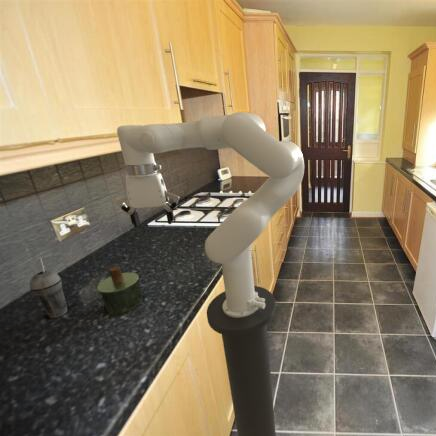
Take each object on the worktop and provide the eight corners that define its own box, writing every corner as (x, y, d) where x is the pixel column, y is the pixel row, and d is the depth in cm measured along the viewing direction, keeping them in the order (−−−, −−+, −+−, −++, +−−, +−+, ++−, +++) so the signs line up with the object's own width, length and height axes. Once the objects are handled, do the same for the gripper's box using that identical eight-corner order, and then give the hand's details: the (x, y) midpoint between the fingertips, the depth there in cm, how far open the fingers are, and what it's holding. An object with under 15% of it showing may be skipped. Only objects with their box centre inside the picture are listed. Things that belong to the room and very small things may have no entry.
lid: (147, 277, 92) (143, 262, 90) (116, 298, 82) (110, 281, 80) (122, 272, 96) (117, 257, 93) (89, 291, 85) (83, 275, 83)
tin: (149, 297, 95) (144, 277, 92) (123, 317, 86) (116, 295, 83) (127, 292, 98) (121, 272, 95) (99, 310, 88) (91, 289, 85)
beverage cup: (37, 320, 85) (12, 265, 78) (60, 305, 91) (39, 253, 84) (56, 322, 84) (32, 266, 77) (78, 307, 90) (58, 254, 83)
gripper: (176, 166, 83) (185, 217, 89) (114, 169, 80) (128, 222, 86) (170, 170, 76) (181, 225, 82) (102, 173, 73) (118, 231, 79)
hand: (154, 224), depth 84 cm, fingers open, 9 cm apart
